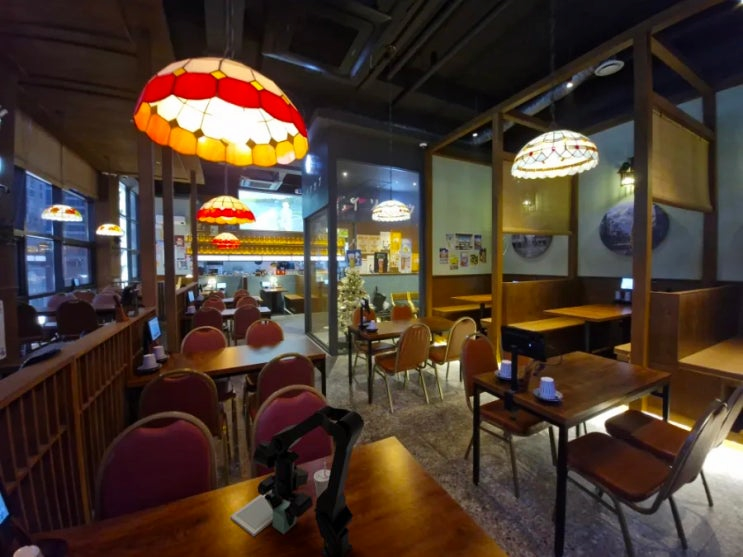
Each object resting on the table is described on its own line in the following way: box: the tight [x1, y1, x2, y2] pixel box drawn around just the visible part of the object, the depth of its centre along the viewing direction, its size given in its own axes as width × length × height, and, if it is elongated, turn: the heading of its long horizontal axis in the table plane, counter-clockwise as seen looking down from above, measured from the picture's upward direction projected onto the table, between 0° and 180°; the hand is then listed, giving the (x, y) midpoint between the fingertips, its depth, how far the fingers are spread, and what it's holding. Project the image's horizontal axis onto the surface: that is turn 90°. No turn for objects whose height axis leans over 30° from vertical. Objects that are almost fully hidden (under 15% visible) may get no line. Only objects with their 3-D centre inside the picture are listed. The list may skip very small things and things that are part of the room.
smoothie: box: [313, 461, 331, 499], centre depth 105 cm, size 6×6×14 cm
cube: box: [272, 500, 298, 535], centre depth 96 cm, size 5×5×5 cm
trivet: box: [229, 494, 273, 537], centre depth 100 cm, size 12×12×1 cm
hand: (284, 521), depth 96 cm, fingers closed on cube, 5 cm apart
